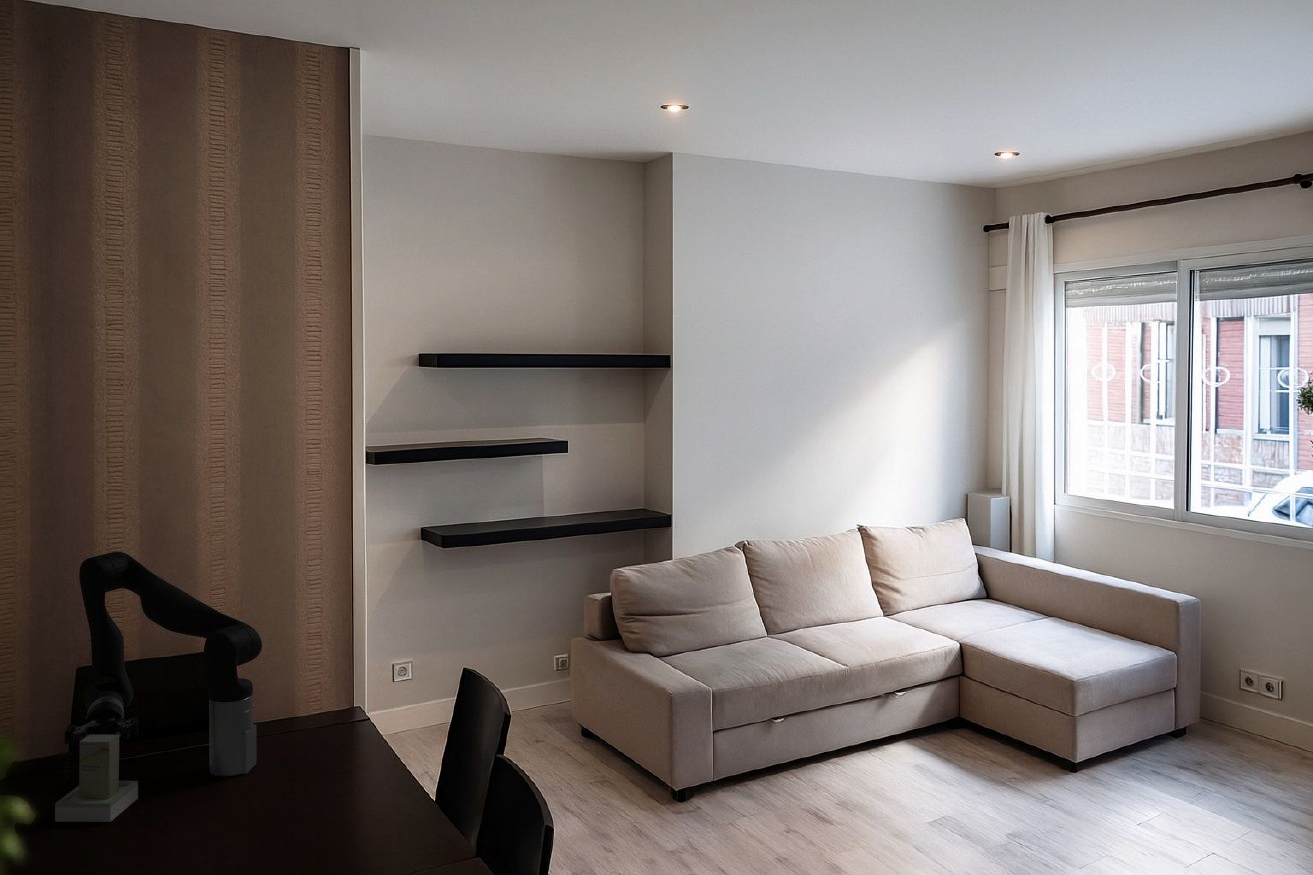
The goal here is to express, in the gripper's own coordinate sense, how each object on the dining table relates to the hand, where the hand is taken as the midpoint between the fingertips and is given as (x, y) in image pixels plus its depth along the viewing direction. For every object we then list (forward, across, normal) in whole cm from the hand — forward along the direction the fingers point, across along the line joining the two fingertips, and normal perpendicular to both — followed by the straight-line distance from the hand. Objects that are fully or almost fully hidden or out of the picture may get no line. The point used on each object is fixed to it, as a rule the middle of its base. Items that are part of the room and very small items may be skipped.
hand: (100, 741), depth 206 cm
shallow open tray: (+11, 0, +11) cm, 15 cm away
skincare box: (+10, 0, +8) cm, 13 cm away
